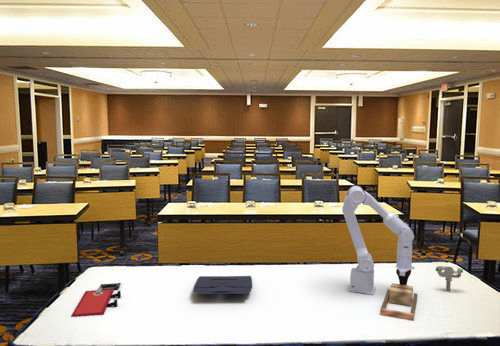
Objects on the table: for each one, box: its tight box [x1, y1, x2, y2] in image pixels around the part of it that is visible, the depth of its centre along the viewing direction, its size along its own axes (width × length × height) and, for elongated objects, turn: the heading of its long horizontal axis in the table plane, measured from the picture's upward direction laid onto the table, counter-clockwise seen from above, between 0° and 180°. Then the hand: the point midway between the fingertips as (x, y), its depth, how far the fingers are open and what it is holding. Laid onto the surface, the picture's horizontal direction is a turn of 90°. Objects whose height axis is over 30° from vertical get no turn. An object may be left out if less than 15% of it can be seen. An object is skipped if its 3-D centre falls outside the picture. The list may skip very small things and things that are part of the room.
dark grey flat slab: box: [193, 275, 253, 295], centre depth 179 cm, size 24×30×4 cm
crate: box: [388, 282, 414, 307], centre depth 166 cm, size 8×8×6 cm
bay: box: [379, 288, 418, 321], centre depth 162 cm, size 11×21×2 cm, turn 155°
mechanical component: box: [435, 265, 464, 292], centre depth 176 cm, size 3×10×10 cm, turn 79°
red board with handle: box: [71, 282, 122, 318], centre depth 169 cm, size 30×3×15 cm
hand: (403, 287), depth 174 cm, fingers closed
